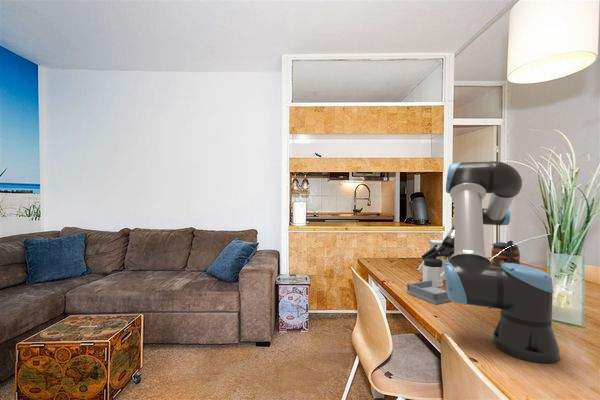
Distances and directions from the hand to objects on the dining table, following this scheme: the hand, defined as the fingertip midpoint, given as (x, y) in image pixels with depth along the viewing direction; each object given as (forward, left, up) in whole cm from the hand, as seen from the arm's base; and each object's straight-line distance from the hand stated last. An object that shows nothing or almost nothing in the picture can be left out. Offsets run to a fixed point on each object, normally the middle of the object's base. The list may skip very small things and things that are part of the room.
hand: (430, 274), depth 146 cm
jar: (0, -1, -5) cm, 5 cm away
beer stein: (-5, -50, -5) cm, 51 cm away
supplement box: (+18, -26, -5) cm, 32 cm away
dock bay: (-12, +12, -5) cm, 17 cm away
